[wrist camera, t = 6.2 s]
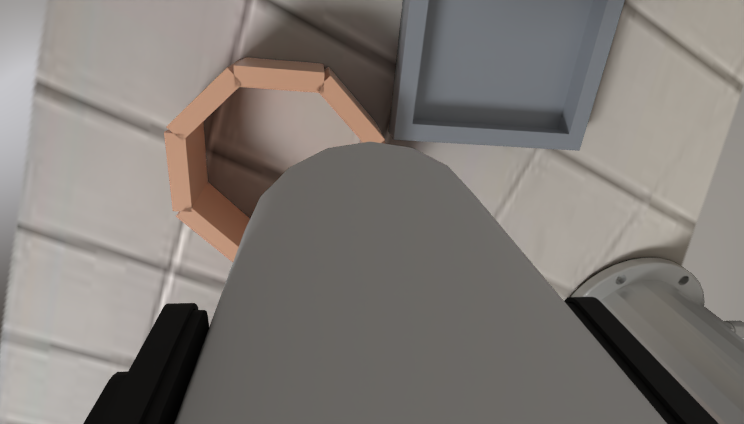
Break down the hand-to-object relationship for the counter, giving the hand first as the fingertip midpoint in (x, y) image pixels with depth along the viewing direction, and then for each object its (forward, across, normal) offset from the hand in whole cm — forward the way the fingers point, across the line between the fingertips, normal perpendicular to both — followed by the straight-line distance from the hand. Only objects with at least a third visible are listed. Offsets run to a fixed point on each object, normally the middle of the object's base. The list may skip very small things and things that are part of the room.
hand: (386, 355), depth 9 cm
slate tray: (+19, -9, -6) cm, 22 cm away
